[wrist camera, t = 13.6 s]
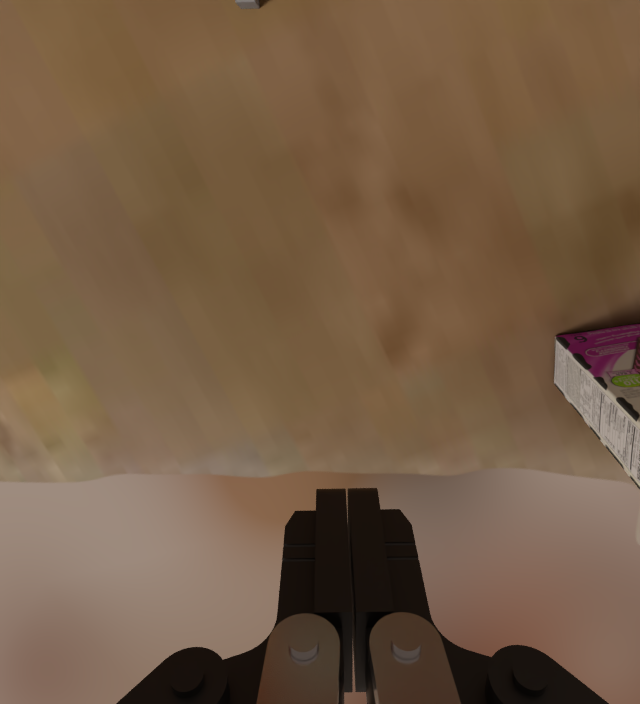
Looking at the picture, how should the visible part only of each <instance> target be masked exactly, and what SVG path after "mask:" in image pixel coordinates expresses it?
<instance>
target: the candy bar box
mask: <svg viewBox="0 0 640 704" xmlns="http://www.w3.org/2000/svg"><path fill="white" fill-rule="evenodd" d="M554 384H555V385H556V387H557V388H558V389H559V390H560V392H561V393H562V394H563V395H564V396H565V397H566V399H567V400H568V401H569V403H570V404H571V405H572V406H573V407H574V409H575V410H576V411H577V412H578V413H579V415H580V416H581V417H582V418H583V419H584V421H585V422H586V423H587V425H588V426H589V427H590V428H591V429H592V431H593V432H594V433H595V434H596V436H597V437H598V438H599V439H600V441H601V442H602V443H603V444H604V446H605V447H606V448H607V449H608V450H609V452H610V453H611V454H612V455H613V457H614V458H615V459H616V460H617V461H618V463H619V464H620V465H621V466H622V468H623V469H624V470H625V471H626V473H627V474H628V475H629V477H630V478H631V479H632V480H633V481H634V483H635V484H636V485H637V487H638V488H639V489H640V323H639V324H632V325H625V326H619V327H612V328H606V329H599V330H592V331H586V332H579V333H572V334H566V335H558V336H555V368H554Z"/></svg>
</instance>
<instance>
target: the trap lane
mask: <svg viewBox="0 0 640 704" xmlns="http://www.w3.org/2000/svg"><path fill="white" fill-rule="evenodd" d="M235 1H236V3H237V5H238V6H239V7H240V8H241V9H252V8H259V0H235Z"/></svg>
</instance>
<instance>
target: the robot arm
mask: <svg viewBox="0 0 640 704" xmlns="http://www.w3.org/2000/svg"><path fill="white" fill-rule="evenodd" d="M282 560H283V561H282V570H281V581H280V591H279V603H278V613H277V620H276V623H275V626H274V628H273V630H272V632H271V633H270V635H269V636H268V637H267V639H265V640H264V641H263V642H262V643H261V644H260V645H259V646H257V647H255V648H254V649H252V650H250V651H248V652H245V653H242V654H240V655H236V656H233V657H230V658H228V659H224V660H222V658H221V657H220V656H219V655H218V654H217V653H215V652H214V651H212V650H210V649H207V648H203V647H192V648H187V649H183V650H181V651H178V652H176V653H174V654H172V655H171V656H169V657H168V658H167V659H165V660H164V661H163V662H162V663H161V664H160V665H159V666H158V667H156V668H155V669H154V670H153V671H152V672H151V673H150V674H149V675H148V676H146V677H145V678H144V679H143V680H142V681H141V682H140V683H139V684H138V685H137V686H135V687H134V688H133V689H132V690H131V691H130V692H129V693H128V694H127V695H126V696H124V697H123V698H122V699H121V700H120V701H119V702H118V703H117V704H344V692H352V641H353V653H354V672H355V688H356V692H366V697H367V704H609V703H607V702H606V701H605V700H603V699H602V698H601V697H600V696H598V695H597V694H596V693H595V692H593V691H592V690H591V689H590V688H588V687H587V686H586V685H585V684H583V683H582V682H581V681H579V680H578V679H577V678H575V677H574V676H573V675H572V674H571V673H569V672H568V671H567V670H566V669H564V668H563V667H562V666H560V665H559V664H558V663H557V662H555V661H554V660H553V659H551V658H550V657H549V656H547V655H546V654H544V653H543V652H541V651H539V650H537V649H534V648H532V647H528V646H522V645H511V646H507V647H504V648H502V649H500V650H498V651H497V652H496V653H495V654H494V655H493V656H492V657H489V656H485V655H482V654H479V653H475V652H472V651H469V650H466V649H463V648H461V647H458V646H457V645H455V644H453V643H452V642H450V641H449V640H447V639H446V638H445V637H444V636H443V635H442V634H441V633H440V632H439V631H438V629H437V628H436V626H435V625H434V623H433V621H432V619H431V615H430V611H429V606H428V601H427V597H426V592H425V587H424V582H423V578H422V573H421V568H420V563H419V560H418V554H417V549H416V545H415V540H414V534H413V530H412V525H411V523H410V522H409V521H408V520H407V518H406V517H405V516H404V514H403V513H402V512H401V510H399V509H389V510H380V504H379V497H378V491H377V488H352V489H348V524H347V506H346V491H345V489H317V491H316V511H295V512H294V514H293V515H292V517H291V518H290V520H289V521H288V523H287V525H286V526H285V535H284V547H283V558H282Z"/></svg>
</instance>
